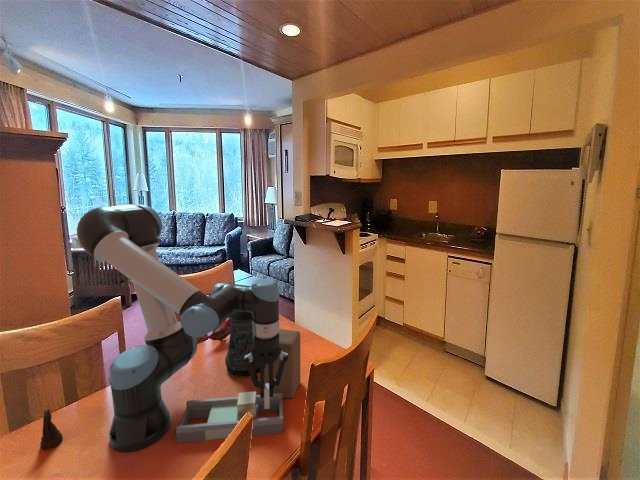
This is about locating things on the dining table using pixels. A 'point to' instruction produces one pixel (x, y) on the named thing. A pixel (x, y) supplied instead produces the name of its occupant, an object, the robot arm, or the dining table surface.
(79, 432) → the dining table surface
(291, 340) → the wooden block
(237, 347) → the beer stein
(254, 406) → the birch block
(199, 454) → the dining table surface
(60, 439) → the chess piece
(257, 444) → the dining table surface
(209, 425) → the board
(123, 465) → the dining table surface
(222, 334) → the decorative bird figurine
